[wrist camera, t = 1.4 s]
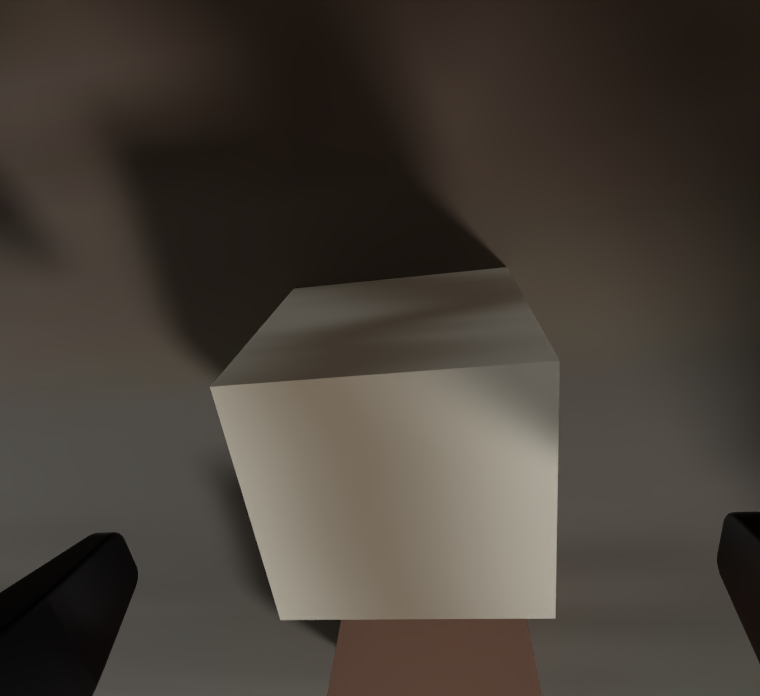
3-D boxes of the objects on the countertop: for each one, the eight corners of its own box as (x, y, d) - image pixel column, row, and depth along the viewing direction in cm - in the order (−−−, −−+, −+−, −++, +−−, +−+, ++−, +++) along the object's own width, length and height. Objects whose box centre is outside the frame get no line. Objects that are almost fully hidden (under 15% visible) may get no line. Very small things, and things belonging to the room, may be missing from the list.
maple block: (506, 266, 11) (560, 360, 7) (511, 448, 13) (555, 618, 9) (294, 287, 12) (209, 386, 7) (329, 457, 14) (280, 620, 9)
